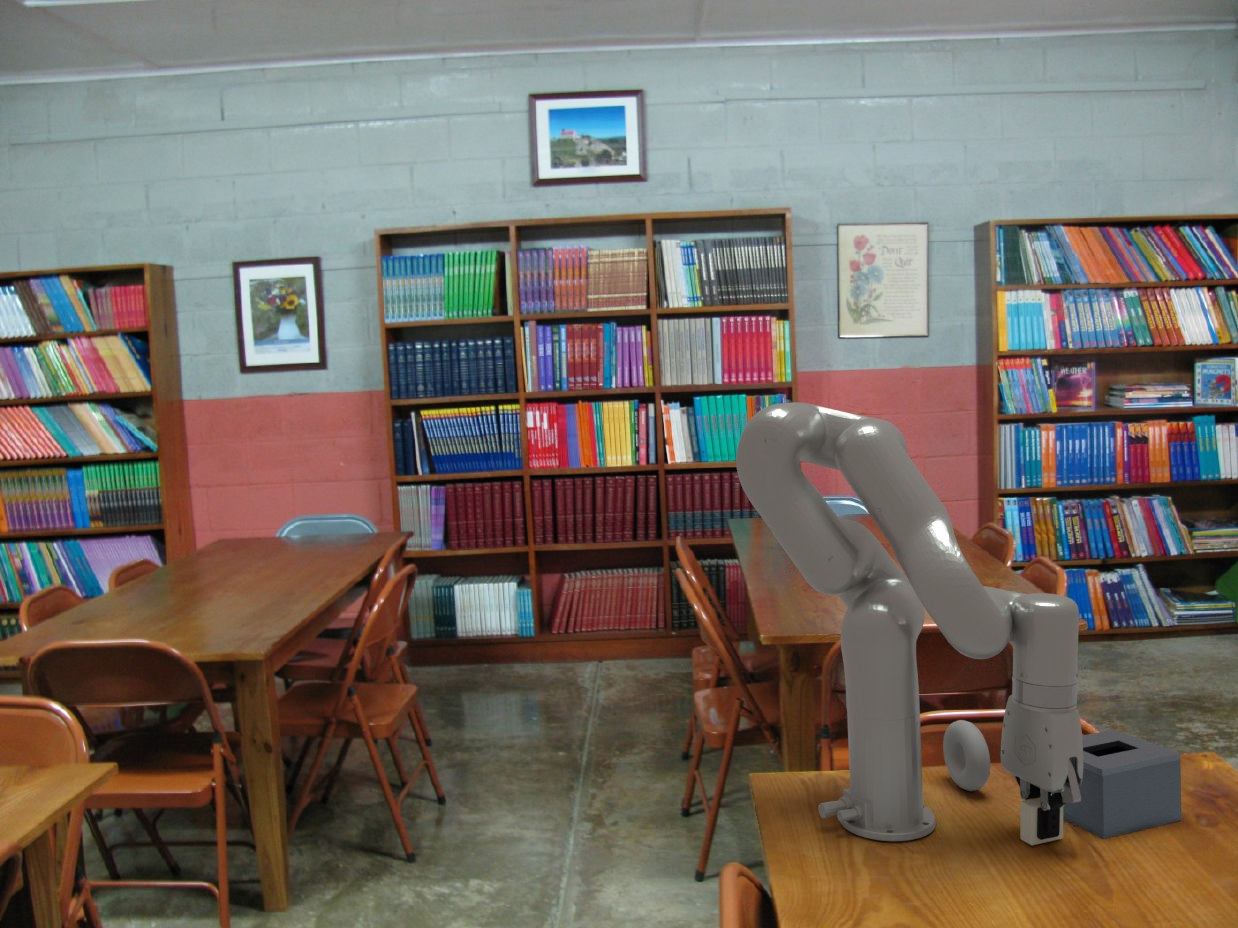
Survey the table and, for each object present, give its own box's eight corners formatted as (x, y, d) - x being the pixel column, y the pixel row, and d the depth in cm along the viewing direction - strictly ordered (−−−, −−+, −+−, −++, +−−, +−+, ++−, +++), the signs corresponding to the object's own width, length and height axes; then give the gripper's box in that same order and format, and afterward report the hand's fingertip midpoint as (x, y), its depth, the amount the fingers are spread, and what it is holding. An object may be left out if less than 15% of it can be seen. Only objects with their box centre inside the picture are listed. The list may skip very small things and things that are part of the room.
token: (1031, 845, 128) (1031, 807, 127) (1020, 838, 130) (1020, 801, 129) (1063, 838, 129) (1063, 800, 129) (1051, 831, 131) (1051, 794, 131)
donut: (996, 800, 143) (994, 730, 142) (973, 803, 142) (971, 733, 142) (960, 775, 153) (958, 710, 152) (939, 778, 152) (937, 712, 152)
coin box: (1104, 838, 129) (1102, 769, 129) (1041, 807, 140) (1039, 743, 139) (1181, 820, 133) (1180, 753, 133) (1115, 791, 144) (1114, 729, 143)
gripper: (978, 678, 134) (976, 813, 136) (1066, 714, 119) (1063, 865, 121) (1024, 673, 137) (1021, 805, 138) (1116, 707, 122) (1112, 855, 123)
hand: (1041, 832), depth 129 cm, fingers closed on token, 1 cm apart
